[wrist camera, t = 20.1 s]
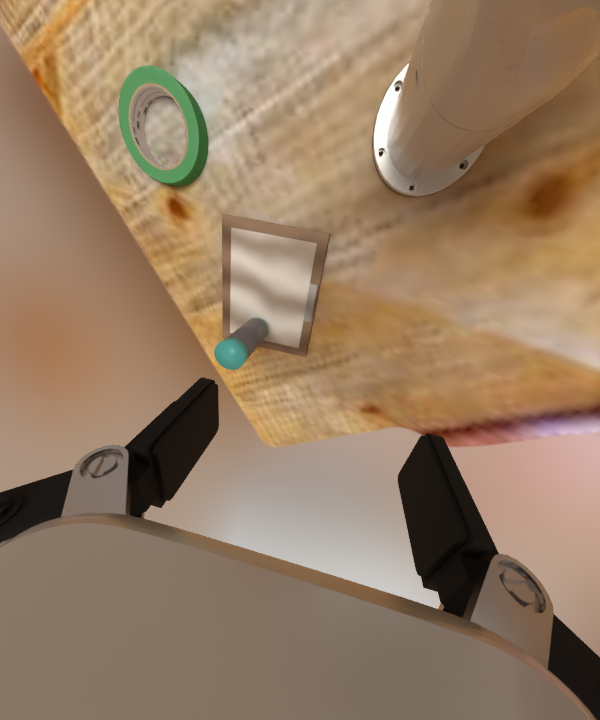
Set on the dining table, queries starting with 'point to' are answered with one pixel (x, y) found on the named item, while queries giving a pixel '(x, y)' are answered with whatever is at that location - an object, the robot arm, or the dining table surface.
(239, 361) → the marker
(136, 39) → the dining table surface
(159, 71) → the tape roll
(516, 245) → the dining table surface
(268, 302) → the clipboard
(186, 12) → the dining table surface
